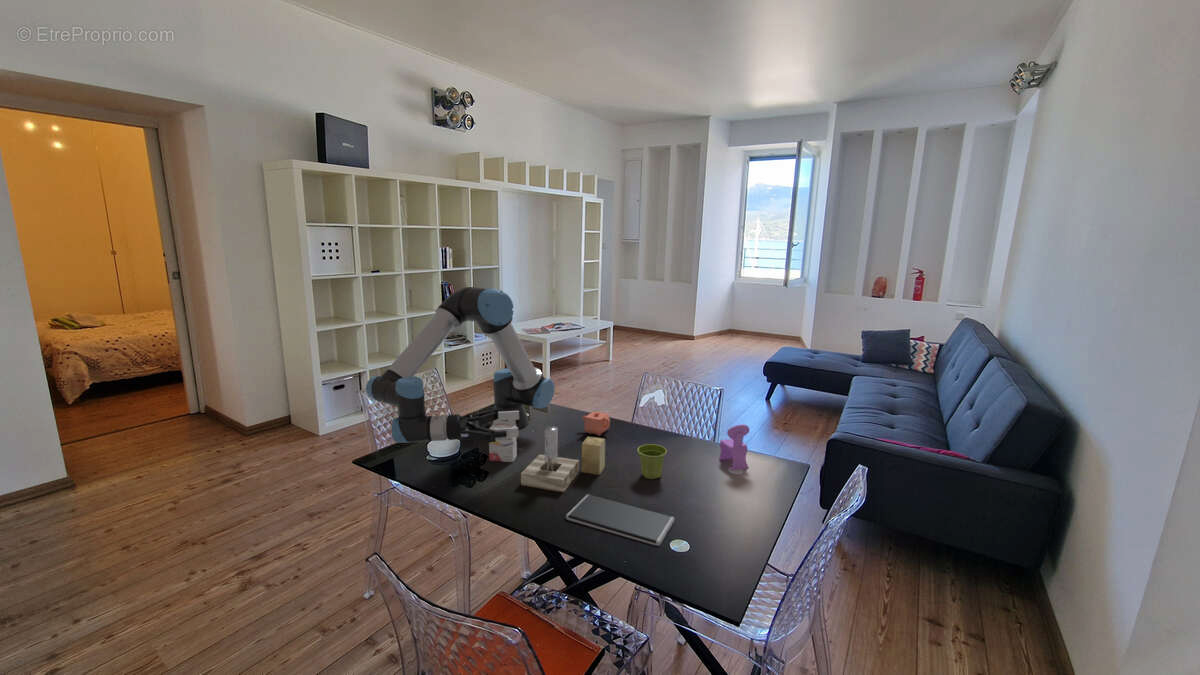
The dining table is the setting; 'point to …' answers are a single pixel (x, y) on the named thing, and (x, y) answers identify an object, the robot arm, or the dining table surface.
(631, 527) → the smartphone
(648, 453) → the plant pot
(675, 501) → the dining table surface
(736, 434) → the toy chair
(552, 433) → the cylinder
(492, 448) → the ink cartridge box
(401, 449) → the dining table surface
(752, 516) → the dining table surface
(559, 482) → the socket block
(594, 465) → the square bar
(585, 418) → the pink cube teapot
